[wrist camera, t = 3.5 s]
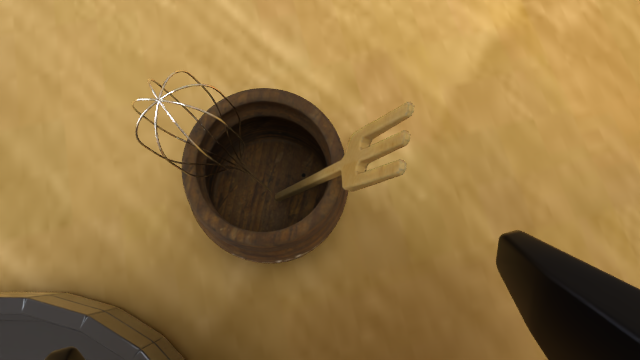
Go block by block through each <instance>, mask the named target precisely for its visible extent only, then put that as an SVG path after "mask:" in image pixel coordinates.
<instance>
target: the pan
mask: <svg viewBox="0 0 640 360" xmlns="http://www.w3.org/2000/svg"><path fill="white" fill-rule="evenodd" d="M67 347H75V348H77V349H78V351H79V352H80V353H81V355H82V356H83V357H84V358H85V360H185V359H184V358H183V357H182V356H181V355H180V353H179V352H178V351H177V350H176V349H175V348H174V347H173V346H172V344H171V343H170V342H169V341H168V340H167V339H166V338H165V337H164V336H163V335H162V334H160V333H159V332H157V331H156V330H154V329H152V328H151V327H149V326H148V325H146V324H144V323H143V322H141V321H140V320H138V319H137V318H135V317H133V316H132V315H130V314H129V313H127V312H125V311H124V310H122V309H121V308H118V307H116V306H112V305H109V304H105V303H102V302H98V301H95V300H91V299H88V298H85V297H81V296H78V295H74V294H71V293H65V292H4V293H0V360H45V358H46V357H47V356H48V355H49V354H50V353H51V352H53V351H55V350H59V349H63V348H67Z"/></svg>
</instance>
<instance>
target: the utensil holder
mask: <svg viewBox="0 0 640 360" xmlns="http://www.w3.org/2000/svg"><path fill="white" fill-rule="evenodd" d="M178 72H184V73H187V74H188V75H190V76H191V77H192V78H193V79H194V80H195V81H196V82H197V83H198V84H191V85H186V86H183V87H180V88H177V89H175V90H173V91H171V92H168V91H167V90H166V89H165V88H164V87H165V85H166V83H167V81H168V80H169V78H170V77H171V76H172V75H174V74H175V73H178ZM150 80H151V81H153V82H155V83H156V84H157V85H158V86H160V87H161V91H160V94H159V97H158V96H157V94H156V93H155V91H154V89H153V88H152V86H151V83H150ZM148 84H149V86H150V88H151V90H152V92H153V93H154V95H155V97H156V98H157V99H153V98H140V99H136V100H134V101H133V102H132V108H133V109H134V110H135V111H136V112H137V113H138V114H139V115H141V116H140V118H139V120H138V122H137V124H136V128H135V135H136V138H137V140H138V142H139V143H140V144H141V145H142V146H144V147H145V148H147V149H148V150H150V151H151V152H153V153H154V154H156V155H158V156H159V157H161V158H163V159H165V160H167V161H168V162H169V163H170V164H172V165H173V166H175V167H176V168H178V169H179V170H181V171H182V179H183V185H184V189H185V193H186V196H187V199H188V201H189V204H190V206H191V209H192V211H193V214H194V216H195V218H196V220H197V222H198V223H199V225H200V227H201V228H202V229H203V231H204V232H205V233H206V234H207V235H208V237H209V238H210V239H211V240H212V241H214V242H215V243H216V244H217V245H218V246H220V247H221V248H222V249H224V250H226V251H227V252H229V253H231V254H233V255H235V256H237V257H240V258H243V259H245V260H249V261H254V262H260V263H280V262H286V261H290V260H293V259H296V258H299V257H301V256H303V255H305V254H307V253H308V252H310V251H312V250H313V249H314V248H316V247H317V246H318V245H319V244H320V243H322V242H323V241H324V240H325V239H326V238H327V236H328V235H329V234H330V233H331V232H332V230H333V229H334V227H335V226H336V224H337V222H338V221H339V219H340V217H341V215H342V212H343V209H344V207H345V203H346V199H347V194H348V191H356V190H360V189H362V188H365V187H368V186H371V185H374V184H377V183H380V182H383V181H386V180H388V179H391V178H394V177H397V176H400V175H403V174H404V172H405V170H406V162H405V161H404V160H401V159H400V160H397V161H394V162H391V163H388V164H385V165H383V166H380V167H377V168H374V169H371V170H368V171H366V168H367V166H368V164H369V163H370V162H372V161H374V160H376V159H379V158H381V157H383V156H385V155H387V154H389V153H391V152H393V151H395V150H397V149H400V148H402V147H404V146H406V145H407V144H408V142H409V141H410V133H409V132H408V131H406V130H403V131H401V132H399V133H397V134H395V135H393V136H390V137H388V138H386V139H384V140H382V141H380V142H377V143H375V144H373V145H371V146H370V143H371V141H372V139H374V138H375V137H377V136H379V135H380V134H382V133H384V132H385V131H387V130H389V129H390V128H392V127H394V126H395V125H397V124H399V123H400V122H402V121H404V120H405V119H407V118H409V117H410V116H411V115H412V113H413V111H414V105H413V104H412V103H411V102H407V103H405V104H403V105H401V106H400V107H398V108H396V109H394V110H393V111H391V112H389V113H387V114H386V115H384V116H382V117H380V118H379V119H377V120H375V121H373V122H372V123H370V124H368V125H366V126H365V127H363V128H361V129H359V130H358V131H356V132H354V133H353V134H352V135H351V137H350V139H349V142H348V145H347V148H346V151H345V154H344V150H343V147H342V144H341V141H340V139H339V136H338V134H337V132H336V130H335V128H334V127H333V125H332V124H331V122H330V121H329V119H328V118H327V117H326V116H325V115H324V114H323V113H322V112H321V111H320V110H319V109H318V108H317V107H316V106H315V105H313V104H312V103H311V102H309V101H307V100H306V99H304V98H302V97H300V96H298V95H296V94H293V93H290V92H287V91H283V90H278V89H270V88H259V89H250V90H245V91H241V92H238V93H235V94H232V95H230V96H228V97H225V96H224V95H223V94H222V93H221V92H220V91H219V90H218V89H217V88H215V87H213V86H211V85H207V84H201V83H200V82H199V81H198V80H197V79H196V78H195V77H194V76H193V75H191V74H190V73H189V72H187V71H184V70H177V71H175V72H173V73H172V74H170V75H169V76H168V77H167V79H166V80H165V82H164V84H163V86H161V85H160V84H159V83H158V82H156V81H155V80H153V79H151V78H149V79H148ZM192 86H201V87H202V88H203V89H204V90H205V91H206V92H207V93H208V94H209V96H210V97H211V99H212V100H213V102H214V103H215V105H213V106H212V107H211V108H210V109H208V110H207V111H204V110H201V109H199V108H196V107H193V106H190V105H187V104H183V103H180V102H179V101H178V100H177V99H176V98H175V97H174V96H173V95H172V94H171V93H173V92H176V91H178V90H180V89H183V88H187V87H192ZM204 86H207V87H211V88H213V89H215V90H216V91H217V92H219V93H220V94H221V95H222V96H223V97H224V99H222V100H221V101H219V102H217V103H216V102H215V100H214V99H213V97H212V96H211V94H210V93H209V92H208V91H207V89H206V88H205V87H204ZM163 90H164V91H165V92H167V94H165V95H164V96H162V97H161V95H162V92H163ZM168 95H170V96H171V97H172V98H174V99H175V100H176V101H177V102H174V101H169V100H162V99H163V98H165V97H166V96H168ZM141 100H153V101H155V102H154V103H153V104H151V105H150V106H149V107H148V108H147V109H146V110H145V111H144V112H143V114H141V113H140V112H139V111H137V110H136V109H135V107H134V103H135V102H136V101H141ZM158 100H159V101H158ZM161 101H162V102H169V103H174V104H179V105H181V106H182V107H183V108H184V109H185V110H187V111H188V113H189V114H190V115H191V116H192V117H193V118H194V119H195V120H196V121H197V123H196V124H195V126H194V127H193V129H192V131H191V133H190V135H189V136H188V135H187V134H186V133H185V132H184V131H183V130H182V128H181V127H180V126H179V125H178V124H177V122H176V121H175V120H174V119H173V117H172V116H171V115H170V113H169V112H168V111H167V109H166V108H165V106H164V105H163V104H162V102H161ZM156 103H157V106H156V112H155V123H153V122H152V121H151V120H149V119H148V118H146V117H145V116H144V114H145V113H146V112H147V111H148V110H149V109H150V108H151V107H152V106H154V105H155V104H156ZM159 103H160V104H161V106H162V107H163V109H164V110H165V111H166V113H167V114H168V115H169V117H170V118H171V119H172V121H173V122H174V123H175V124H176V126H177V127H178V128H179V129H180V130H181V132H182V133H183V134H184V135H185V136H186V137H187V138H188V139H187V141H185V140H183V139H181V138H179V137H177V136H175V135H173V134H171V133H169V132H167V131H165V130H164V129H162V128H161V127H159V126H158V125H157V113H158V107H159ZM185 106H186V107H190V108H193V109H196V110H198V111H201V112H204V114H203V115H202V116H201V118H200V119H199V120H197V119H196V117H195V116H194V115H193V114H192V113H191V112H190V111H189V110H188V109H187V108H186V107H185ZM142 117H143V118H145V119H146V120H148V121H149V122H150V123H152V124H153V125H155V134H156V139H157V143H158V146H159V149H160V151H161V153H162V155H163V156H164V157H163V156H161V155H159V154H158V153H156V152H154V151H153V150H151V149H150V148H148V147H147V146H145V145H144V144H143V143H142V142H141V141H140V140H139V138H138V134H137V129H138V125H139V122H140V120H141V119H142ZM157 127H158V128H159V129H161V130H162V131H164V132H166V133H168V134H169V135H171V136H173V137H175V138H177V139H179V140H181V141H184V142H186V145H185V148H184V152H183V158H182V162H177V161H173V160H170V159H168V158H167V157H166V156H165V154H164V153H163V151H162V148H161V146H160V143H159V139H158V133H157ZM172 162H174V163H179V164H182V169H181V168H180V167H178V166H177V165H175V164H174V163H172Z"/></svg>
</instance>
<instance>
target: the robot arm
mask: <svg viewBox="0 0 640 360" xmlns="http://www.w3.org/2000/svg"><path fill="white" fill-rule="evenodd" d="M496 265H497V268H498V271H499V273H500V275H501V277H502V279H503V281H504V283H505V285H506V287H507V288H508V290H509V292H510V294H511V296H512V298H513V300H514V302H515V304H516V306H517V308H518V310H519V312H520V314H521V315H522V317H523V319H524V321H525V323H526V325H527V327H528V329H529V330H530V332H531V334H532V335H533V337H534V339H535V340H536V342H537V343H538V345H539V346H540V348H541V349H542V351H543V352H544V354H545V355H546V357H547V358H548V360H640V289H638V288H636V287H634V286H632V285H630V284H628V283H626V282H624V281H622V280H620V279H618V278H616V277H614V276H612V275H610V274H608V273H606V272H604V271H602V270H600V269H597V268H595V267H593V266H591V265H589V264H587V263H585V262H583V261H581V260H579V259H577V258H575V257H573V256H571V255H569V254H567V253H565V252H563V251H561V250H559V249H557V248H555V247H553V246H551V245H549V244H547V243H545V242H543V241H541V240H539V239H537V238H535V237H533V236H531V235H529V234H527V233H525V232H522V231H519V230H517V231H512V232H508V233H504V234H502V235H501V236H500V237H499V243H498V250H497V257H496ZM45 360H85V358H84V357H83V356H82V355H81V353H80V352H79V351H78V349H77V348H75V347H67V348H63V349H59V350H55V351H53V352H51V353H50V354H49V355H48V356H47V357H46V358H45Z"/></svg>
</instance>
